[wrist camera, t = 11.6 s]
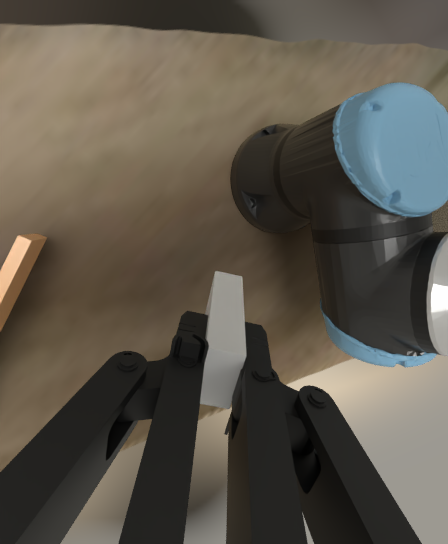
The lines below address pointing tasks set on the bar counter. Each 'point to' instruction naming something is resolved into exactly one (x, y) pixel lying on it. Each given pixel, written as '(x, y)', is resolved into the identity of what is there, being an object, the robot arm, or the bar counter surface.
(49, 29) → the bar counter surface
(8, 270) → the side door
